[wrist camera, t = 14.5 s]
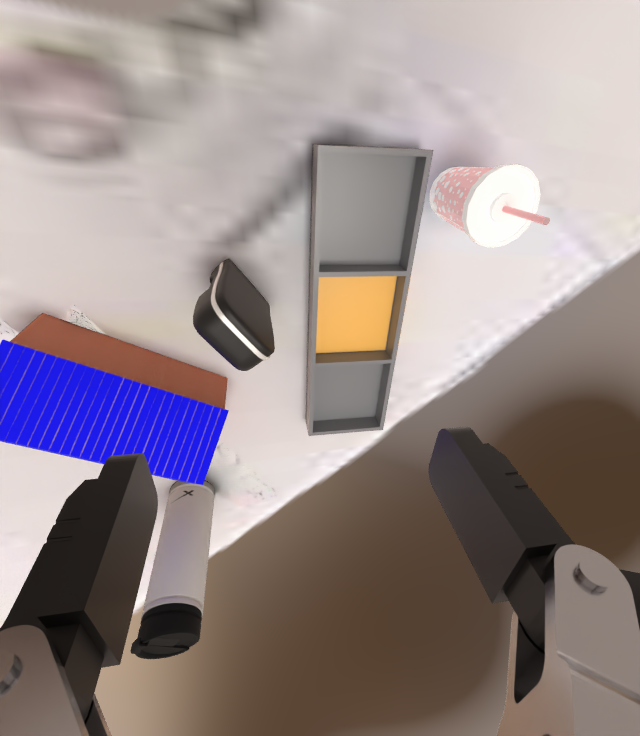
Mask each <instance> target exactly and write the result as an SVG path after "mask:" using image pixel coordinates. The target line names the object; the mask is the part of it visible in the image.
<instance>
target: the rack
mask: <svg viewBox="0 0 640 736" xmlns="http://www.w3.org/2000/svg"><path fill="white" fill-rule="evenodd" d="M432 154H433V150H425V149H408V148H386V147H363V146H341V145H318V144H313V153H312V193H311V233H310V273H309V313H308V353H307V393H306V424H307V429H308V435H309V436H313V435H325V434H337V433H349V432H361V431H373V430H383V426H384V421H385V415H386V410H387V404H388V399H389V393H390V388H391V382H392V376H393V371H394V365H395V360H396V355H397V350H398V344H399V338H400V333H401V327H402V322H403V316H404V311H405V305H406V300H407V294H408V289H409V283H410V277H411V271H412V265H413V260H414V254H415V249H416V243H417V238H418V232H419V226H420V221H421V215H422V210H423V204H424V199H425V193H426V188H427V182H428V176H429V171H430V165H431V160H432Z"/></svg>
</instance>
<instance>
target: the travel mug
mask: <svg viewBox="0 0 640 736" xmlns="http://www.w3.org/2000/svg"><path fill="white" fill-rule="evenodd" d="M214 495H215V490H214V487H213V486H212V484H211V483H209V482H208V481H206V480H204V483H203V485H200V484H192V483H187V482H182V481H178V482H176V483H175V484H174V485H173V486H172V487H171V489H170V493H169V498H168V502H167V506H166V511H165V515H164V520H163V524H162V529H161V533H160V538H159V542H158V546H157V551H156V555H155V560H154V564H153V569H152V573H151V577H150V582H149V586H148V591H147V595H146V600H145V604H144V609H143V613H142V618H141V619H142V620H141V626H140V629H139V634H138V638H137V639H136V640H135V641H134V642H133V644H132V647H131V653H133V654H136V656H138V657H140V658H144V659H159V658H166V657H171V656H174V655H178V654H181V653H183V652H185V651H187V650H188V649H189V647H190V646H192V645H194V644H195V643H197V642H198V641H199V638H200V629H201V620H202V614H203V605H204V595H205V585H206V575H207V564H208V555H209V545H210V535H211V525H212V515H213V505H214Z"/></svg>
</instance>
